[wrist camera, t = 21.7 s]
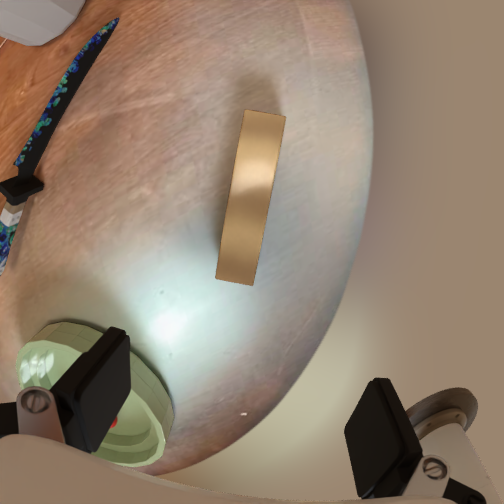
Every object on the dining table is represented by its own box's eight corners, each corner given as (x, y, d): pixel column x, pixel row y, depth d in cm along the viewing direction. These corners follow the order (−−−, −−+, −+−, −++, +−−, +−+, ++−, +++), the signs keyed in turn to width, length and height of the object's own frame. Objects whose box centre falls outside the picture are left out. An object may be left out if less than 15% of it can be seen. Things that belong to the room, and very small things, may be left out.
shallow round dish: (209, 420, 32) (202, 451, 27) (111, 450, 36) (100, 472, 31) (88, 288, 28) (62, 308, 23) (18, 353, 32) (-1, 371, 27)
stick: (247, 115, 23) (244, 108, 20) (283, 122, 23) (286, 116, 20) (220, 266, 26) (214, 279, 23) (254, 273, 26) (252, 286, 24)
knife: (8, 280, 27) (-15, 291, 22) (-6, 264, 26) (-29, 274, 22) (145, 38, 22) (131, 17, 18) (125, 28, 22) (110, 8, 18)
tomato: (115, 414, 30) (104, 400, 31) (99, 426, 28) (89, 412, 30) (124, 424, 31) (114, 410, 33) (109, 435, 29) (99, 421, 31)
